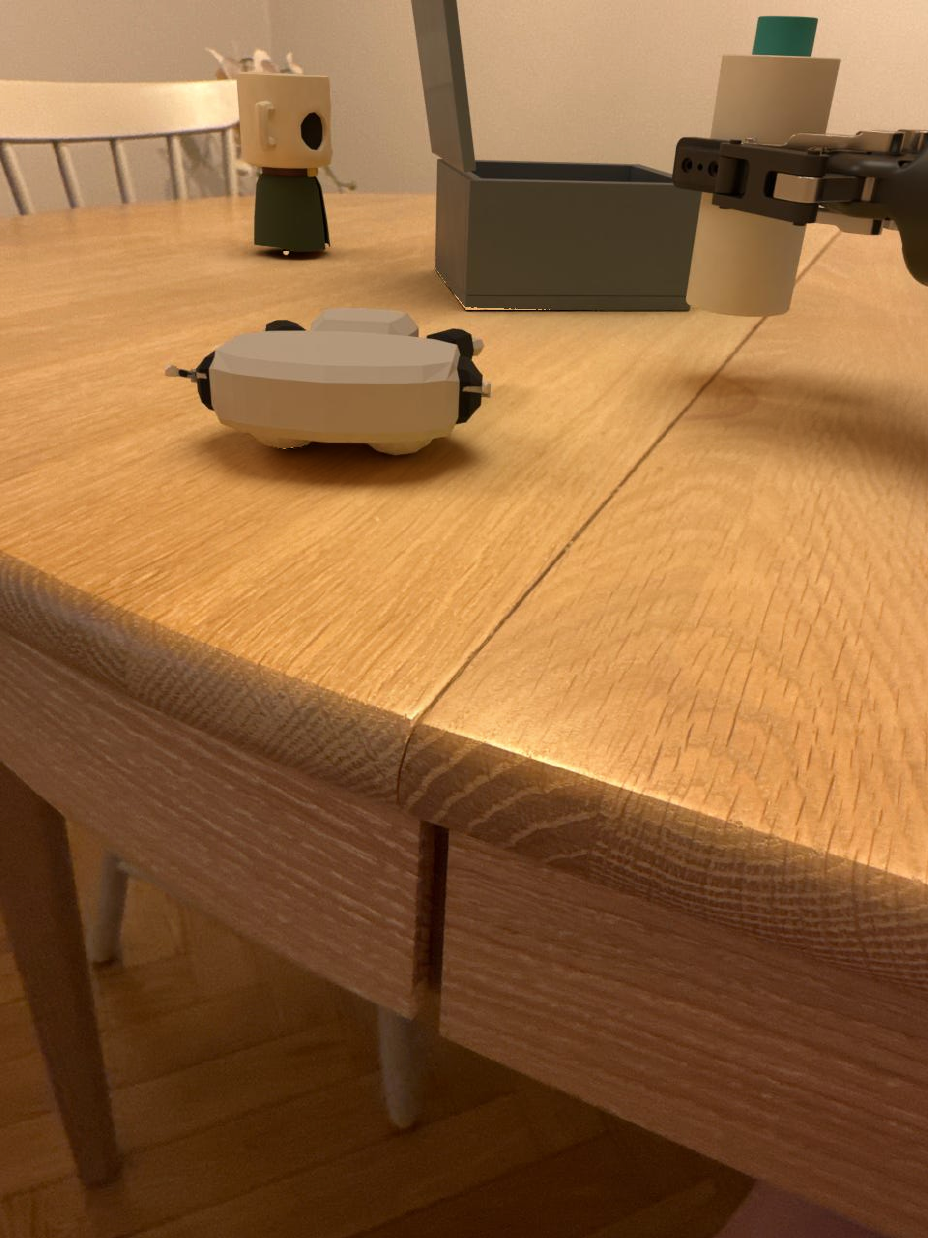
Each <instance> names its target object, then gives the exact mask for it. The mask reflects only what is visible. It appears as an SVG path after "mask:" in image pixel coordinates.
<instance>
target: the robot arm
mask: <svg viewBox="0 0 928 1238" xmlns="http://www.w3.org/2000/svg"><path fill="white" fill-rule="evenodd" d="M756 140H757V138H745V141H742V140H735V139H730V141H728V140H719V139H710V137H709V138H708V137H701V136H700V137H698V136H683V137H681V138H680V139H679V140H678V141H677V143H676V145H675V150H674V151H675V152H674V158H673V167H672V173H671V174H672V182H673V184H674V186H675V187H677V188H681V189H687V190H693V191H700V192H706V193H712V194H713V197H712V205H716V206H719V208H720V209H734V210H738V211H743V212H747V213H752V214H756V215H761V216H765V217H770V218H774V219H778V220H783V221H787V222H793V225H794V226H806V224H807V225H808V224H809V225H811V224H820V225H829V226H830V225H831V226H836V228H838V229H839V230H840V232H842V233H846V234H854V235H862V236H882V234H883V229H886V230H890V231H896V232H898V233H899V237H900V243H901V254H902V259H903V263H904V264H905V268H906V269H907V271H908V273H909V274H910V276H911V277H912V279H914V280H915V281H916V282H918V283H919V284H921V285H922V286H925V287H927V288H928V129H905V128H904V129H898V130H886V129H885V130H884V129H871V130H859V131H857V132H856V133H855V134H841V133H827V132H826V133H814V132H803V133H797V134H794V135H793V136H791V137H790V138H789V140H788V141H787V142H786V143H771V142H758V141H756ZM816 148H823V149H822V153H821V151H820V150H814V149H816ZM820 153H821V154H820Z"/></svg>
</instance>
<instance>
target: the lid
mask: <svg viewBox="0 0 928 1238" xmlns="http://www.w3.org/2000/svg"><path fill="white" fill-rule="evenodd" d="M410 3H411V10H412V18H413V24H414V33H415V40H416V48H417V55H418V61H419V68H420V69H419V70H420V74H421V75H420V77H421V83H422V90H423V98H424V104H425V113H426V120H427V126H428V134H429V142H430V149H431V153H432V154H433V155H436V156H437V157H439V159H443V160H445V161H447V162H448V163H450V164H452V165H453V166H455V167H456V168H458V169H460V170H461V171H463V172H471V171H475V170H476V164H475V160H476V156H475V155H476V154H475V148H474V139H473V131H472V130H473V129H472V121H471V114H470V113H471V112H470V106H469V105H470V103H469V95H468V87H467V78H466V70H465V69H466V68H465V62H464V61H465V60H464V53H463V43H462V36H461V34H462V33H461V27H460V18H459V10H458V2H457V0H410Z"/></svg>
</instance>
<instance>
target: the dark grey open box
mask: <svg viewBox="0 0 928 1238" xmlns="http://www.w3.org/2000/svg"><path fill="white" fill-rule="evenodd" d="M475 164H476V170H475V171H471V172H463V171H461V170H460V169H458V168H456V167H455V166H453V165H452V164H450V163H448V162H447V161H445V160H443V159H442V158H437V159H436V187H435V189H436V190H435V198H436V199H435V229H434V230H435V231H434V232H435V233H434V234H435V237H434V238H435V239H434V269H435V268H436V270H437V271H438V272H439V274H440V275H441V277H442V278H443V280H444V281H445V282H446V284H447V285H448V286H449V288H450V289H451V290H452V292H453V293H454V294H455V295H456V296H457V297H458V298H459V300H460V301H461V302H462V304H463V305H464V306H465V307H471V308H474V307H477V308H504V309H509V308H511V309H515V308H516V309H536V310H538V309H542V310H544V309H546V310H549V309H550V310H593V312H597V311H598V312H599V311H600V310H602V312H604V311H605V312H606V311H609V312H613V311H614V312H615V311H618V312H619V311H620V312H621V311H622V312H623V311H624V312H627V311H628V312H630V311H631V312H633V311H634V312H637V311H639V312H642V311H645V312H646V311H648V312H649V311H657V312H659V311H660V312H661V311H664V312H665V311H667V312H668V311H669V312H670V311H671V312H673V311H675V312H676V311H678V312H679V311H680V312H681V311H683V312H684V311H685V312H686V311H687V312H688V311H691V307H692V306H691V305H689V304H688V303H687V302H686V296H687V289H688V282H689V276H690V269H691V263H692V256H693V249H694V243H695V236H696V229H697V223H698V216H699V209H700V203H701V196H702V192H700V191H693V190H687V189H681V188H677V187H675V186H674V184H673V182H672V173H669V172H667V171H663V170H659V169H656V168H652V167H650V166H646V165H642V164H639V163H609V162H605V163H604V162H603V163H602V162H573V161H571V162H566V161H531V160H500V159H499V160H498V159H497V160H496V159H475ZM441 277H440V278H441ZM443 280H442V281H443ZM444 281H443V282H444ZM446 284H445V285H446ZM447 285H446V286H447ZM449 288H448V289H449ZM450 289H449V290H450ZM452 292H451V293H452ZM453 293H452V294H453ZM595 310H597V311H595Z"/></svg>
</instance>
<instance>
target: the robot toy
mask: <svg viewBox="0 0 928 1238" xmlns="http://www.w3.org/2000/svg"><path fill="white" fill-rule="evenodd" d="M419 330H420V327H419V326H418V325H417V323H416V322H415V321H414V319H413V318H412V317H411V316H410V315H409V313H408V312H405V311H404V312H403V311H399V310H393V309H386V308H385V309H384V308H371V307H370V308H369V307H368V308H367V307H334V308H325V309H324V310H322V312H321V313H320V314H318V316H317V317H316V318H315V319H314V320H313V321H312V322H311V325H310V328H309V330H307V329H306V328H305V327H303V326H302V325H300V324H299V323H297V322H294V321H291V320H288V319H275V320H273V321H271V322H268V323H266V324H265V328H264V327H263V328H262V330H261V331H256V332H246V333H244V332H243V333H237V334H236V335H235V336H233V337H232V338H230V339H228V341H225V343H223V344H222V345H220V346H218V347H217V348H215V349H214V350H213V351H211V352H210V353H209V354H207V355H206V356H204V357H203V358H202V361H201V362H199V364H198V366H197V367H196V368H190V370H188V369H184V368H179V367H178V368H177V366H176V365H169V364H164V376H165V377H169V378H177V377H179V378H182V379H183V378H184V379H189V380H190V383H193V384H196V386H197V388H196V389H197V393H198V397H199V399H200V401H201V403H202V404H203V405H204V406H205V407H206V408H207V409H208V410H209V411H212V412H214V413H215V415H216V417H217V419H218V421H219V423H220V424H221V425H223V426H225V427H227V428H231V429H233V430H235V431H237V432H240V433H245V434H249V435H250V436H251V437H252V438H255V439H256V440H257V441H258V442H260V443H261V444H263V445H265V446H267V445H269V446H268V447H271V446H274V447H273V448H275V447H279V448H291V447H300V448H303V447H302V446H304V445H306V446H308V445H309V444H311V443H312V442H317V443H329V444H330V443H333V444H335V443H336V444H337V443H338V444H344V443H345V444H356V443H357V444H366V445H368V446H370V447H372V448H373V449H374V450H375V451H377V452H380V453H384V454H388V455H392V456H402V455H408V454H414V453H415V454H416V453H417V452H418V451H419V450H421V449H423V448H425V447H427V446H428V445H430V444H432V442H433V440H434V439H440V438H444V437H449V436H451V435H452V433H453V430H454V428H455V426H456V425H462V424H465V423H467V422H468V421H469V420H470V418H471V417H472V416H473V415H474V413H475V412H476V411H477V410H478V409H480V407H481V406H482V398H483V399H485V398H486V399H491V397H492V396H491V395H492V394H491V393H492V383H491V381H489V380H483V379H484V375H483V374H482V372H481V371H480V370H479V368H478V367H477V366H476V364H475V362H474V361H473V357H477V356H479V355H480V354H481V353H482V352H483V350H484V347H485V345H484V341H483V339H482V338H478V337H473V336H472V334H471V333H470V332H468V331H466V330H464V329H463V328H456V327H455V328H454V327H452V328H448V329H445V330H442V331H437V332H433V333H431V334H428V335H426V337H420V335H419ZM304 447H305V446H304ZM279 448H278V449H279ZM401 454H402V455H401Z"/></svg>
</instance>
